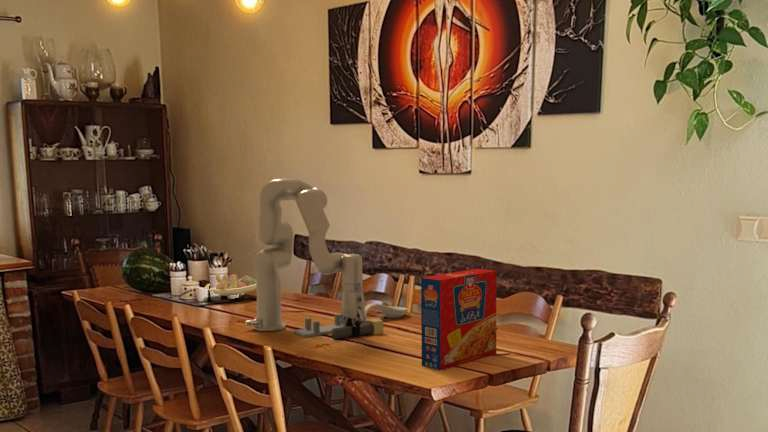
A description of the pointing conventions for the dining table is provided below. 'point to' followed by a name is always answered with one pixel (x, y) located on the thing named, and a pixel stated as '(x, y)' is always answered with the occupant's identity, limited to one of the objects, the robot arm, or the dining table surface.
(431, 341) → the pasta box
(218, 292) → the dish with food
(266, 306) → the robot arm
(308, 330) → the clip rail
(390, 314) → the spoon rest
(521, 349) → the dining table surface
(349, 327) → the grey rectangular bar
